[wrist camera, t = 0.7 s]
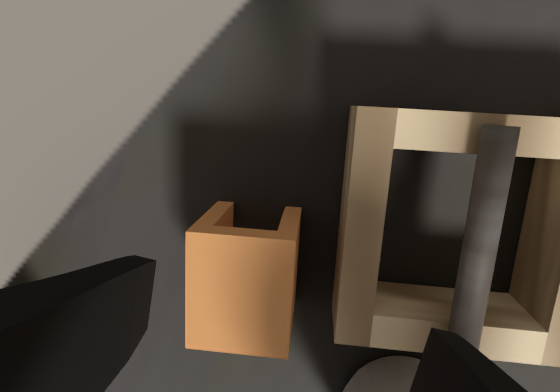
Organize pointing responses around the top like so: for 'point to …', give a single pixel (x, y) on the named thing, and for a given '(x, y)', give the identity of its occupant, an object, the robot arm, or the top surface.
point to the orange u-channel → (241, 284)
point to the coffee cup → (385, 375)
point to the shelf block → (476, 242)
